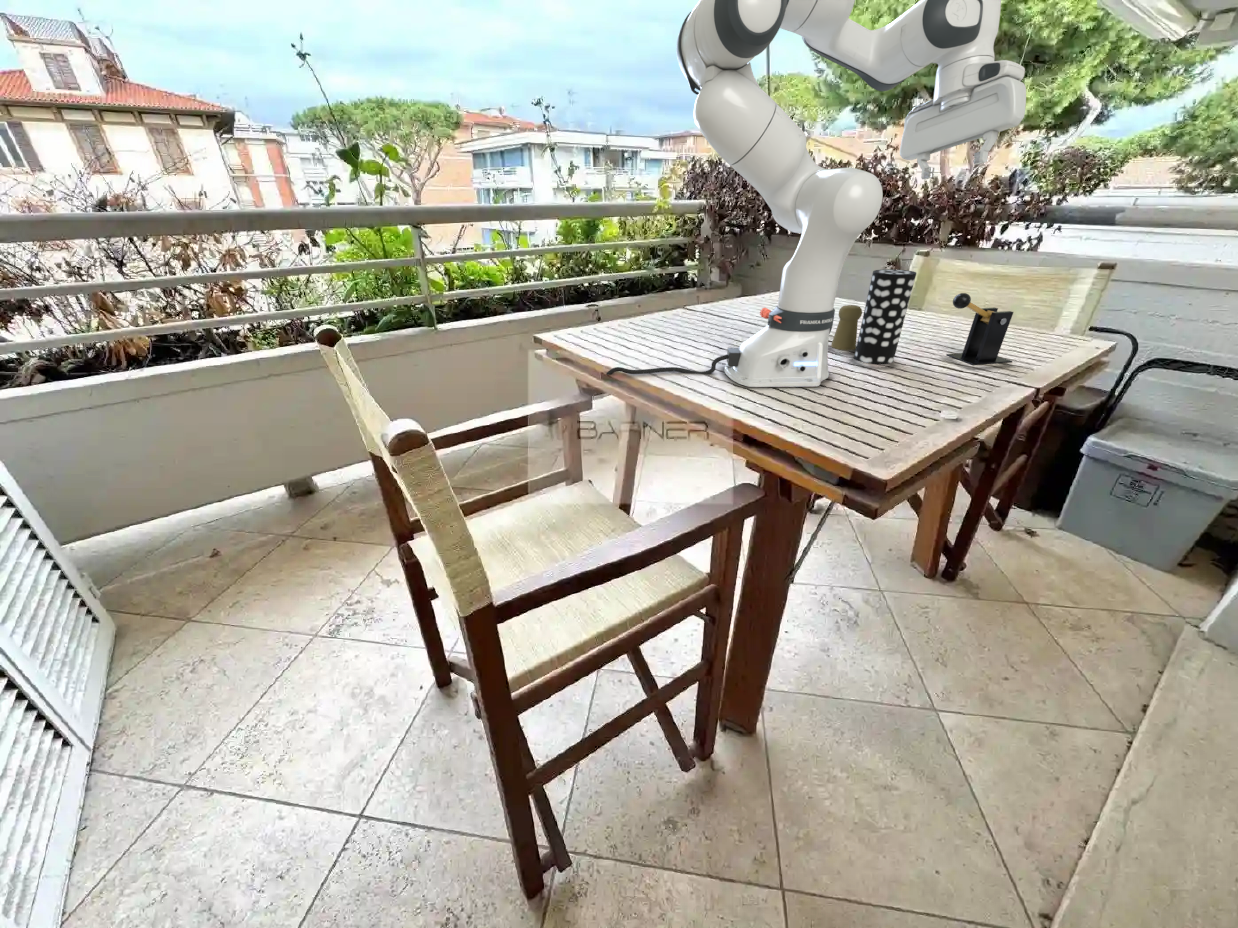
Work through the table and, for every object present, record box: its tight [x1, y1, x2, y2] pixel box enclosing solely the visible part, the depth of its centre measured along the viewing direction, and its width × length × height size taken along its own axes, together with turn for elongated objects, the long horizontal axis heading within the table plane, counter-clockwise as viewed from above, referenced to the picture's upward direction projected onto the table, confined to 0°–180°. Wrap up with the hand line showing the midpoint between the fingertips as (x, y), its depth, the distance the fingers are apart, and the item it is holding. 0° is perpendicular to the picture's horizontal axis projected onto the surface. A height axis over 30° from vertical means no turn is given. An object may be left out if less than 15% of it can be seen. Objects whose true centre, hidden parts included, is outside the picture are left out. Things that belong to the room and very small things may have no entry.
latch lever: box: [952, 292, 994, 324], centre depth 105 cm, size 13×3×3 cm, turn 99°
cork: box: [830, 304, 863, 351], centre depth 120 cm, size 6×6×11 cm
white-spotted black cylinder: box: [853, 268, 917, 365], centre depth 108 cm, size 8×8×20 cm
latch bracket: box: [945, 307, 1014, 366], centre depth 109 cm, size 10×8×12 cm
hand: (952, 171), depth 93 cm, fingers open, 8 cm apart
